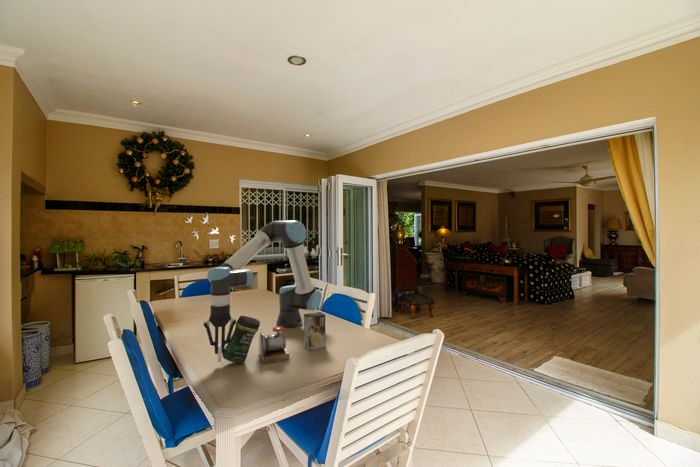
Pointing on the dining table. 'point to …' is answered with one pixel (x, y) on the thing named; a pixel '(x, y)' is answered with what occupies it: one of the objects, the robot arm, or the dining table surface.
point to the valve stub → (273, 347)
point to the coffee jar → (241, 339)
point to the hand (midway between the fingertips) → (219, 360)
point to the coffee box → (314, 331)
